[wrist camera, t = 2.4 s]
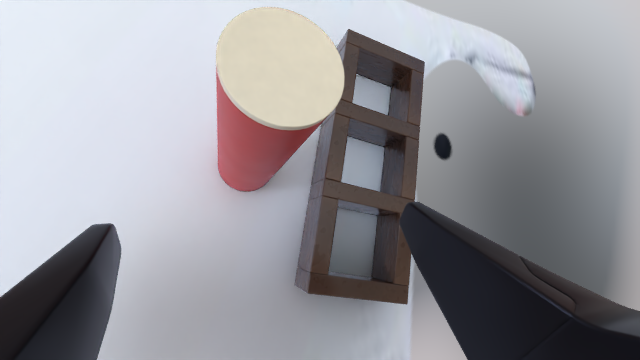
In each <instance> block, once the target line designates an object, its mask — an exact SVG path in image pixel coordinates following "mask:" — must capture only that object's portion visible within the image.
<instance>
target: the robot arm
mask: <svg viewBox="0 0 640 360" xmlns="http://www.w3.org/2000/svg"><path fill="white" fill-rule="evenodd" d="M399 224H400V227H401V229H402V232H403V234H404V237H405V239H406V241H407V244H408V246H409V248H410V251H411V253H412V256H413V258H414V260H415V262H416V264H417V266H418V268H419V270H420V272H421V274H422V276H423V277H424V279H425V281H426V283H427V285H428V287H429V289H430V290H431V292H432V294H433V296H434V298H435V300H436V302H437V303H438V305H439V307H440V309H441V311H442V313H443V314H444V316H445V318H446V320H447V322H448V324H449V326H450V328H451V330H452V331H453V333H454V335H455V337H456V339H457V341H458V342H459V344H460V346H461V348H462V350H463V352H464V354H465V356H466V357H467V359H468V360H640V311H637V310H634V309H630V308H627V307H625V306H622V305H619V304H617V303H615V302H612V301H611V300H609V299H607V298H604V297H602V296H600V295H598V294H596V293H594V292H592V291H590V290H587V289H585V288H583V287H581V286H579V285H577V284H575V283H573V282H571V281H569V280H567V279H565V278H563V277H560V276H558V275H556V274H554V273H552V272H550V271H548V270H546V269H544V268H543V267H541V266H539V265H536V264H535V263H533V262H531V261H529V260H527V259H525V258H523V257H521V256H518V255H517V254H515V253H514V252H512V251H509V250H508V249H506V248H504V247H503V246H501V245H499V244H497V243H495V242H493V241H491V240H489V239H487V238H486V237H484V236H482V235H480V234H478V233H476V232H474V231H472V230H470V229H469V228H466V227H465V226H463V225H461V224H459V223H457V222H455V221H454V220H452V219H450V218H448V217H446V216H444V215H442V214H440V213H438V212H437V211H435V210H433V209H431V208H429V207H427V206H425V205H423V204H421V203H419V202H409V203H407V204H406V206H405V208H404V210H403V212H402V215H401V217H400V220H399ZM120 258H121V244H120V241H119V238H118V235H117V232H116V228H115V226H114V225H113V224H111V223H108V224H95V225H92V226H90V227H89V228H88V229H86V230H85V231H84V232H83V233H81V234H80V235H79V236H78V237H76V238H75V239H74V240H72V241H71V242H70V243H69V244H67V245H66V246H65V247H64V248H62V249H61V250H60V251H58V252H57V253H56V254H55V255H53V256H52V257H51V258H50V259H48V260H47V261H46V262H45V263H43V264H42V265H41V266H39V267H38V268H37V269H36V270H34V271H33V272H32V273H31V274H29V275H28V276H27V277H25V278H24V279H23V280H22V281H20V282H19V283H18V284H17V285H15V286H14V287H13V288H11V289H10V290H9V291H8V292H6V293H5V294H4V295H3V296H1V297H0V360H97V357H98V354H99V350H100V347H101V344H102V341H103V337H104V334H105V331H106V327H107V324H108V321H109V317H110V314H111V310H112V304H113V299H114V293H115V287H116V281H117V275H118V270H119V264H120Z"/></svg>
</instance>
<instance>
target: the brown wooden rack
mask: <svg viewBox="0 0 640 360" xmlns="http://www.w3.org/2000/svg"><path fill="white" fill-rule="evenodd" d="M336 49H337V51H338V53H339V55H340V57H341V60H342V64H343V68H344V77H345V78H344V89H343V93H342V96H341V99H340V101H339V103H338V105H337V106H336V107H335V109H334V110H333V111H332V112H331V113H330V115H329V116H328V117H327V118H326V119H325V120H324V121H323V122H322V125H321V127H322V128H321V131H320V137H319V143H318V149H317V155H316V161H315V167H314V173H313V179H312V186H311V190H310V196H309V202H308V208H307V214H306V220H305V225H304V231H303V237H302V243H301V249H300V255H299V261H298V268H297V273H296V279H295V285H296V286H297V287H299V288H300V289H302V290H303V291H305V292H306V293H308V294H317V295H327V296H336V297H345V298H354V299H363V300H372V301H381V302H390V303H399V304H407V302H408V288H409V287H408V285H409V276H410V262H411V251H410V248H409V246H408V244H407V241H406V239H405V237H404V234H403V232H402V229H401V227H400V224H399V220H400V217H401V215H402V212H403V210H404V208H405V206H406V204H407V203H409V202H415V201H414V200H415V189H416V175H417V161H418V148H419V132H420V127H419V126H420V118H421V105H422V90H423V77H424V75H423V74H424V64H425V62H424V61H422V60H419V59H417V58H415V57H412V56H410V55H408V54H405V53H403V52H401V51H398V50H396V49H394V48H391V47H389V46H387V45H384V44H382V43H380V42H378V41H375V40H373V39H371V38H368V37H366V36H364V35H361V34H359V33H357V32H354V31H352V30H350V29H348V31H347V32H346V34H345V35H344V37H343V39H342V40H341V42H340V43H339V45H338V46H337V48H336ZM356 73H357V74H360V75H362V76H365V77H367V78H370V79H373V80H375V81H378V82H380V83H383V84H386V85H388V86H391V87H392V88H391V98H390V107H389V116H388V115H385V114H382V113H379V112H376V111H373V110H370V109H367V108H365V107H362V106H359V105H356V104H353V103H352V100H353V93H354V86H355V79H356ZM347 136H350V137H354V138H357V139H360V140H364V141H367V142H370V143H374V144H377V145H380V146H383V147H386V148H385V155H384V165H383V174H382V184H381V192H378V191H374V190H370V189H366V188H362V187H358V186H354V185H350V184H346V183H342V182H341V178H342V171H343V164H344V157H345V150H346V143H347ZM337 207H340V208H345V209H349V210H354V211H358V212H363V213H368V214H372V215H377V216H378V221H377V231H376V241H375V250H374V260H373V269H372V278H371V277H364V276H357V275H350V274H342V273H335V272H328V271H329V264H330V257H331V250H332V243H333V236H334V229H335V222H336V214H337Z"/></svg>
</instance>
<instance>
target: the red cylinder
mask: <svg viewBox="0 0 640 360" xmlns="http://www.w3.org/2000/svg"><path fill="white" fill-rule="evenodd" d="M344 78H345V77H344V68H343V64H342V60H341V57H340V55H339V53H338V51H337V49H336V47H335V45H334V44H333V42H332V41H331V39H330V38H329V37H328V35H327V34H326V33H325V32H324V31H323V30H322V29H321V28H320V27H318V26H317V25H316V24H315V23H313V22H312V21H311V20H309V19H307V18H306V17H304V16H302V15H300V14H298V13H295V12H293V11H290V10H287V9H282V8H276V7H261V8H254V9H251V10H248V11H245V12H243V13H241V14H239V15H238V16H236V17H235V18H233V19H232V20H231V21H230V22H229V23H228V24H227V26H226V27H225V28H224V30H223V31H222V33H221V35H220V37H219V41H218V44H217V50H216V79H217V137H218V170H219V173H220V175H221V177H222V179H223V180H224V181H225V183H227V184H228V185H229V186H230V187H232V188H234V189H236V190H240V191H254V190H257V189H259V188H261V187H262V186H264V185H265V184H266V183H267V182H268V181H269V180H270V179H271V178H272V177H273V175H274V174H275V173H276V172H277V171H278V170H279V169H280V168H281V167H282V166H283V165H284V163H285V162H286V161H287V160H288V159H289V158H290V157H291V156H292V155H293V154H294V153H295V152H296V150H297V149H298V148H299V147H300V146H301V145H302V144H303V143H304V142H305V141H306V140H307V138H308V137H309V136H310V135H311V134H312V133H313V132H314V131H315V130H316V129H317V128H318V126H319V125H320V124H321V123H322V122H323V121H324V120H325V119H326V118H327V117H328V116H329V115H330V113H331V112H332V111H333V110H334V109H335V107H336V106H337V105H338V103H339V101H340V99H341V96H342V93H343V89H344Z"/></svg>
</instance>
